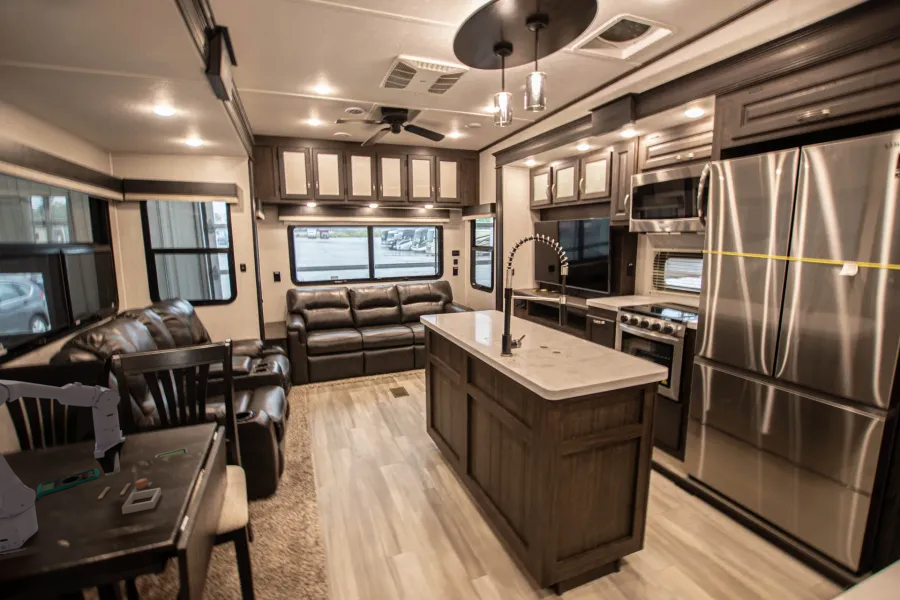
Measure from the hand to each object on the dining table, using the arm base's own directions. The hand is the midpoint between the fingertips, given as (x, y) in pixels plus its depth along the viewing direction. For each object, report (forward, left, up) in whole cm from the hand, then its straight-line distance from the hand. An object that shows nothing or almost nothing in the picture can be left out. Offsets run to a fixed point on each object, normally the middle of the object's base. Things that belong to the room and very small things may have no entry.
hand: (112, 468), depth 124 cm
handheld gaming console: (+18, -11, -10) cm, 23 cm away
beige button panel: (0, -4, -9) cm, 10 cm away
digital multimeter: (+12, +16, -10) cm, 22 cm away
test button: (0, -7, -8) cm, 10 cm away
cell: (0, 0, -1) cm, 1 cm away
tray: (-10, -10, -9) cm, 17 cm away
